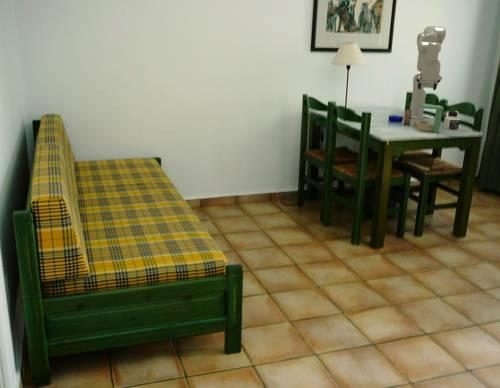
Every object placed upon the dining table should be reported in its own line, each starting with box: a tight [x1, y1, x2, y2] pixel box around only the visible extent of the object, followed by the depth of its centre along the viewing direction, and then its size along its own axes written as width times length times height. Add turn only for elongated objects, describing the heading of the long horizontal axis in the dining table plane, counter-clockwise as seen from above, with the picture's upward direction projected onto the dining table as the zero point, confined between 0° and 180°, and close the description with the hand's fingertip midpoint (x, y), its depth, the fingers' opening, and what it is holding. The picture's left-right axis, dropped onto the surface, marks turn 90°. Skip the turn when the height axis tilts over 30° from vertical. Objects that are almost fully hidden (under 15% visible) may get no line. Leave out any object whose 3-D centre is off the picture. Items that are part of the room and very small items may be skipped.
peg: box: [403, 109, 412, 126], centre depth 355 cm, size 4×4×10 cm
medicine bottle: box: [442, 110, 461, 131], centre depth 349 cm, size 7×7×12 cm
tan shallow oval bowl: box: [412, 120, 434, 132], centre depth 347 cm, size 14×10×4 cm
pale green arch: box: [419, 104, 445, 134], centre depth 337 cm, size 10×13×16 cm
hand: (426, 89), depth 342 cm, fingers open, 9 cm apart
